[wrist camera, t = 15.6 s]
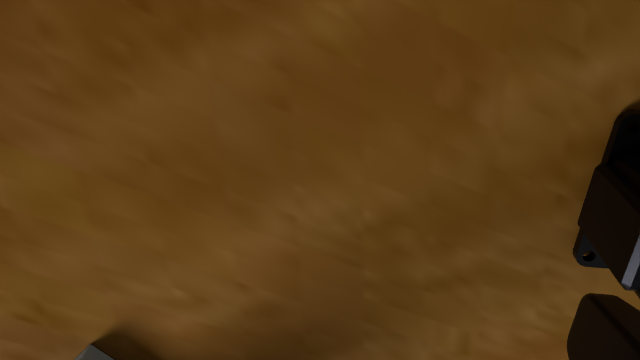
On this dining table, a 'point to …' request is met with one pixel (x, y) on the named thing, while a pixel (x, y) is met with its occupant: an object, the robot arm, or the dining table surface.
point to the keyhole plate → (93, 354)
